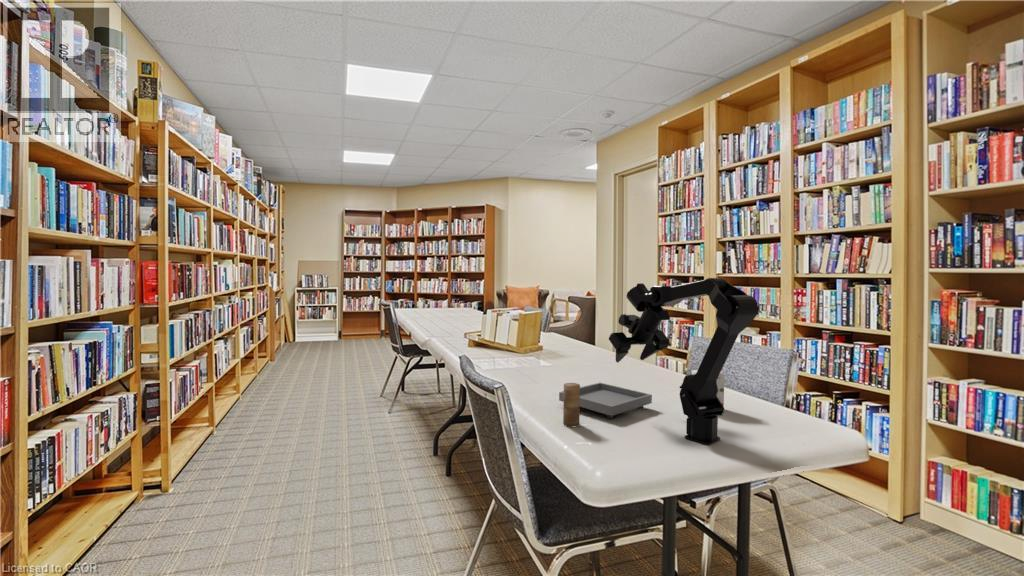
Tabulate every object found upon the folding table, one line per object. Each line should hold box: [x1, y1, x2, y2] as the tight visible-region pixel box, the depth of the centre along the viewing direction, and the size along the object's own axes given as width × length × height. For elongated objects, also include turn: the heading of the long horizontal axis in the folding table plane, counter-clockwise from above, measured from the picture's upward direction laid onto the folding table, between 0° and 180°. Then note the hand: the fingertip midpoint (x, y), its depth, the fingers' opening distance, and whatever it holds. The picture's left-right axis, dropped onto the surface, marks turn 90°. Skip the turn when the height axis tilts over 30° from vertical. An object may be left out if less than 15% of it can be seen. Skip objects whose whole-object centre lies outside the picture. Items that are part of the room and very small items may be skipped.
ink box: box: [691, 369, 725, 409], centre depth 148 cm, size 9×5×12 cm, turn 84°
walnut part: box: [562, 382, 581, 427], centre depth 132 cm, size 4×4×11 cm
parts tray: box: [558, 382, 653, 420], centre depth 149 cm, size 20×20×4 cm
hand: (629, 360), depth 149 cm, fingers open, 9 cm apart
